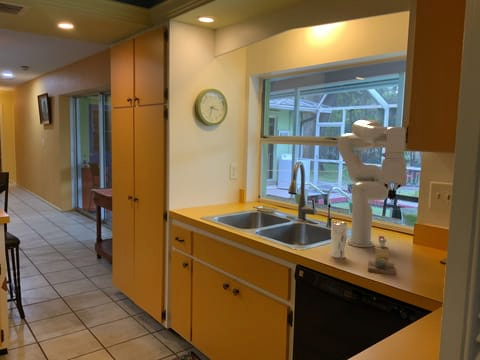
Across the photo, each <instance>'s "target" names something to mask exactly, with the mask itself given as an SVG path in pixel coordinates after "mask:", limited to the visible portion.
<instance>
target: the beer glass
mask: <svg viewBox="0 0 480 360" xmlns="http://www.w3.org/2000/svg"><path fill="white" fill-rule="evenodd" d="M347 238H348V223H346V222H343V221H332V222H331V229H330V239H331V248H332V249H331V253H330V256H331V257H333V258H335V259H344V258H345V256H346V255H345V253H346V252H345V246H346V243H347V242H346V241H347Z"/></svg>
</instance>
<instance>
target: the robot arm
mask: <svg viewBox="0 0 480 360" xmlns="http://www.w3.org/2000/svg"><path fill="white" fill-rule="evenodd" d="M351 132H352V133H351ZM351 132H350V133H343V134H342V135H341V136H339V138H338V141H337V148H338V152H339V154H340V156H341V158H342V159H343V161H344V164H345V166H346V170H347V172H348V176H349V179H350V180H351V182H353V184H352V186H351V190H350V191H351V198H352V200H351V201H352V206H351V207H352V209H351V212H352V213H351V231H350V239H348V240H347V244H348V245H349V246H353V247H356V248H357V247H358V248H372V247H373V246H375V243H374V241H371V240H372V228H373V227H372V226H373V225H372V224H373V209H372V206H371V205H370V203H369V202H370V201H371V202H372V201H373V202H375V201H376V202H377V201H379V202H380V201H384V200H386V199H387V198H389V200H392V201H394V199H396V197H397V190H399V189H400V188H402V187H406V186H407V160H406V159H405V145H406V133H407V132H406V129H405V127H403V126H383V125H382V123H381V122H380V121H378V120H373V119H372V120H370V119H366V120H365V119H360V120H357V121H355V122H354V123H353V124H352V126H351ZM374 145H385V148H384V152H383V153H381V154H380V156H381V157H383V158H384V159H382V161H381V165H380V166H381V167H380V166H378V165H375V164H366V163H365V162H364V161H363V159H362V157H361V156H360V154H359V153H358V152H356V151H355V150H357V151H358V150H360V151H361V150H364V151H365V150H366V151H367V150H371V148H372V147H373V146H374ZM391 184H393V188H392V187H391Z"/></svg>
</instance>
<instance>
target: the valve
mask: <svg viewBox="0 0 480 360" xmlns="http://www.w3.org/2000/svg"><path fill="white" fill-rule="evenodd" d="M389 254H390V247H389V246H386V245H385V248H380V245H375V256H374V257H375V258H374V261H373V260H368V262H367V272H368V273H375V274H384V275H390V276H391V275H392V276H396V268H395V263H390V262H389V257H390V256H389Z"/></svg>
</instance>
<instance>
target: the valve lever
mask: <svg viewBox="0 0 480 360" xmlns="http://www.w3.org/2000/svg"><path fill="white" fill-rule="evenodd" d="M378 242H379V244H380V245H379V246H380V248H385V246H386V243H387V239H386V238H385V236H384V235H378Z"/></svg>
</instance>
